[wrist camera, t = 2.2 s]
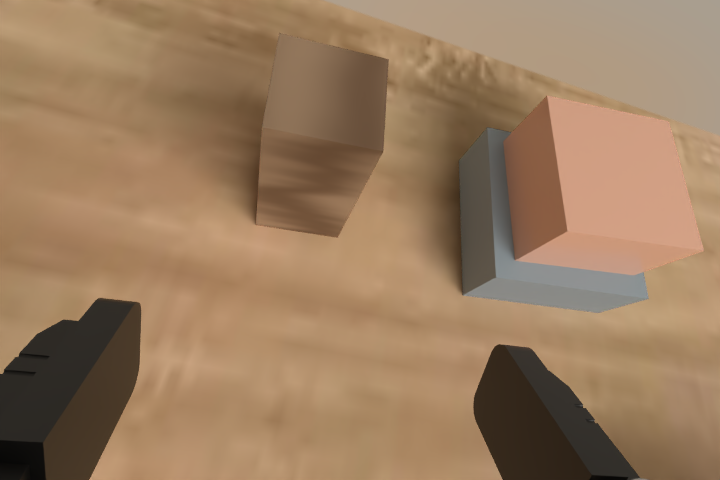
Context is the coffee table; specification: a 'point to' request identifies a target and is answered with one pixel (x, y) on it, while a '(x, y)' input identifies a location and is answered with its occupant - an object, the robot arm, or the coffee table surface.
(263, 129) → the pillar
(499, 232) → the tower base
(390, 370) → the coffee table surface
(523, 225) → the tower cap
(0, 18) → the coffee table surface
